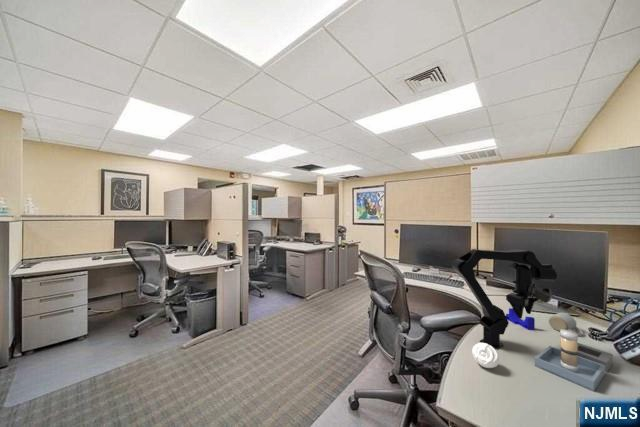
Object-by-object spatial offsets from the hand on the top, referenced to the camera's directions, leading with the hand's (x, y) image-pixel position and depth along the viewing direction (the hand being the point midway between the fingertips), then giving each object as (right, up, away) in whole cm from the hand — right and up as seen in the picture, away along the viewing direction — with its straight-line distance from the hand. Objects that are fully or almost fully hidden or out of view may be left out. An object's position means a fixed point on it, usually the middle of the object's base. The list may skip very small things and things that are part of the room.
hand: (524, 315), depth 95 cm
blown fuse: (+3, -12, -15) cm, 19 cm away
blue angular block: (+16, -14, +20) cm, 29 cm away
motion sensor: (-26, -13, -13) cm, 32 cm away
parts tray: (+3, -13, -15) cm, 20 cm away
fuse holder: (+17, -13, -9) cm, 23 cm away
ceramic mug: (+33, -14, +14) cm, 38 cm away
